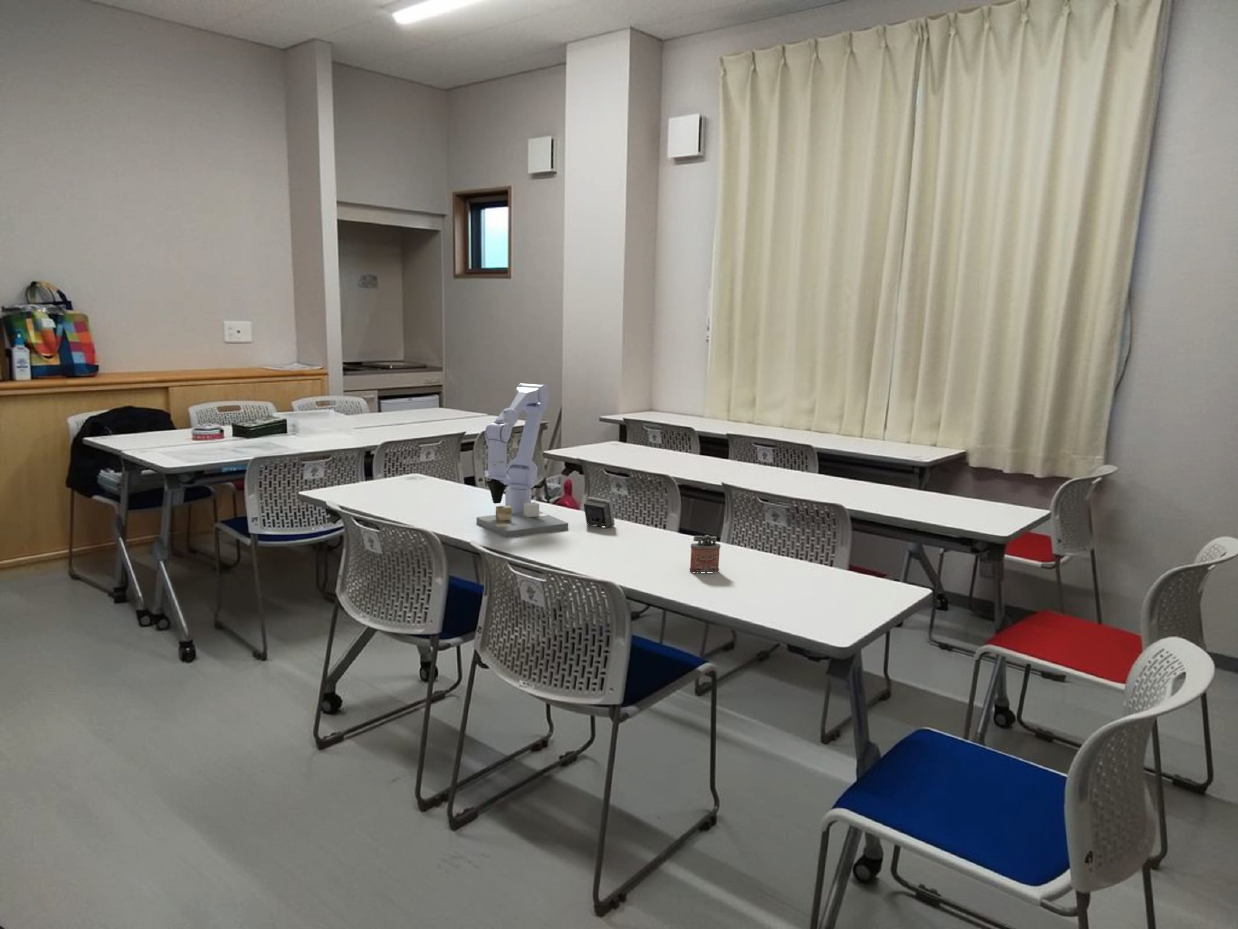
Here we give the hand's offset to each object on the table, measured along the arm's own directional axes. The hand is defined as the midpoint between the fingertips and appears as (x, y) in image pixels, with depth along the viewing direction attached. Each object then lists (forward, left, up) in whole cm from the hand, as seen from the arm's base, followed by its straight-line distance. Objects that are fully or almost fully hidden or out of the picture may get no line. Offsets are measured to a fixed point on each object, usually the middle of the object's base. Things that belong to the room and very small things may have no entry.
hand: (496, 502), depth 265 cm
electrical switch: (+19, +27, -7) cm, 34 cm away
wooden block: (+5, 0, -4) cm, 6 cm away
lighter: (+73, +25, -7) cm, 77 cm away
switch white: (+5, +10, -4) cm, 12 cm away
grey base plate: (+8, +5, -7) cm, 11 cm away
